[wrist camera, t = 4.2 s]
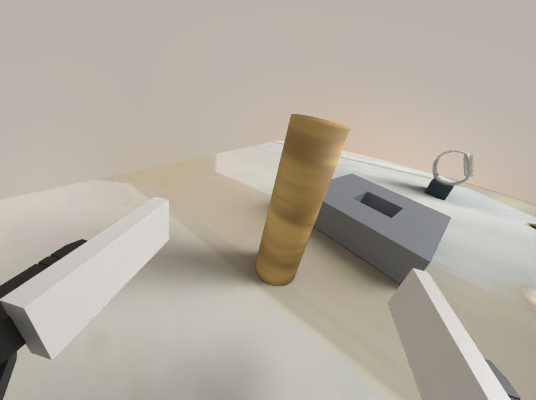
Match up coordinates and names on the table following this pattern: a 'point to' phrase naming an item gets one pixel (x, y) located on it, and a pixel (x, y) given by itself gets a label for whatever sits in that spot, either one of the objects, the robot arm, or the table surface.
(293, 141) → the ochre pin
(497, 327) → the table surface
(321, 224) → the hole block
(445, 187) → the watch
